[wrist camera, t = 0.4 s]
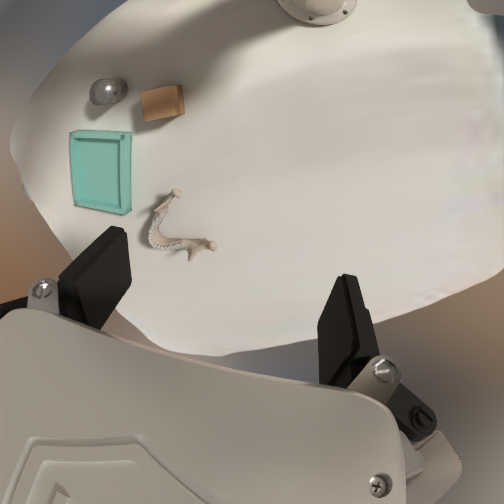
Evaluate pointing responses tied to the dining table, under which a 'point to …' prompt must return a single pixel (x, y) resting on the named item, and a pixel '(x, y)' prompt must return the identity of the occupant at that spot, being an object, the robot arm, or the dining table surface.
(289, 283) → the dining table surface
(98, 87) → the grey metal cylinder
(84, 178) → the tray
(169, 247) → the anatomical model
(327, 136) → the dining table surface
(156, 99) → the walnut block
